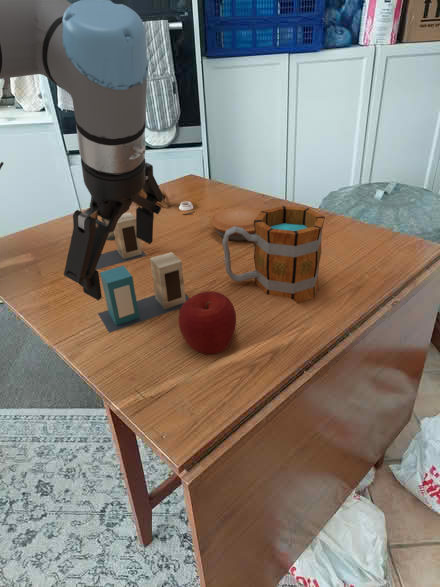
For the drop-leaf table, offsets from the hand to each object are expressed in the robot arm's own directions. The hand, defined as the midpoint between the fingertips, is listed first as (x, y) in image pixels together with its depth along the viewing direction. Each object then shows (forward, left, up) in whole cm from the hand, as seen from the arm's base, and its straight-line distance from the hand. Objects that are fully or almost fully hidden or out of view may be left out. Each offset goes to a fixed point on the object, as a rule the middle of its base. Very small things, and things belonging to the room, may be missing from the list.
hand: (120, 265), depth 68 cm
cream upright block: (-6, +10, -14) cm, 18 cm away
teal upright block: (-6, 0, -14) cm, 15 cm away
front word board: (-6, +5, -15) cm, 17 cm away
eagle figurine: (-42, +10, -15) cm, 46 cm away
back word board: (-30, +4, -15) cm, 34 cm away
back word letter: (-30, +10, -14) cm, 34 cm away
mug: (-1, +30, -15) cm, 34 cm away
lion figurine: (-56, +25, -15) cm, 63 cm away
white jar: (-48, +33, -15) cm, 60 cm away
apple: (+9, +10, -15) cm, 21 cm away
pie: (-28, +39, -15) cm, 51 cm away
